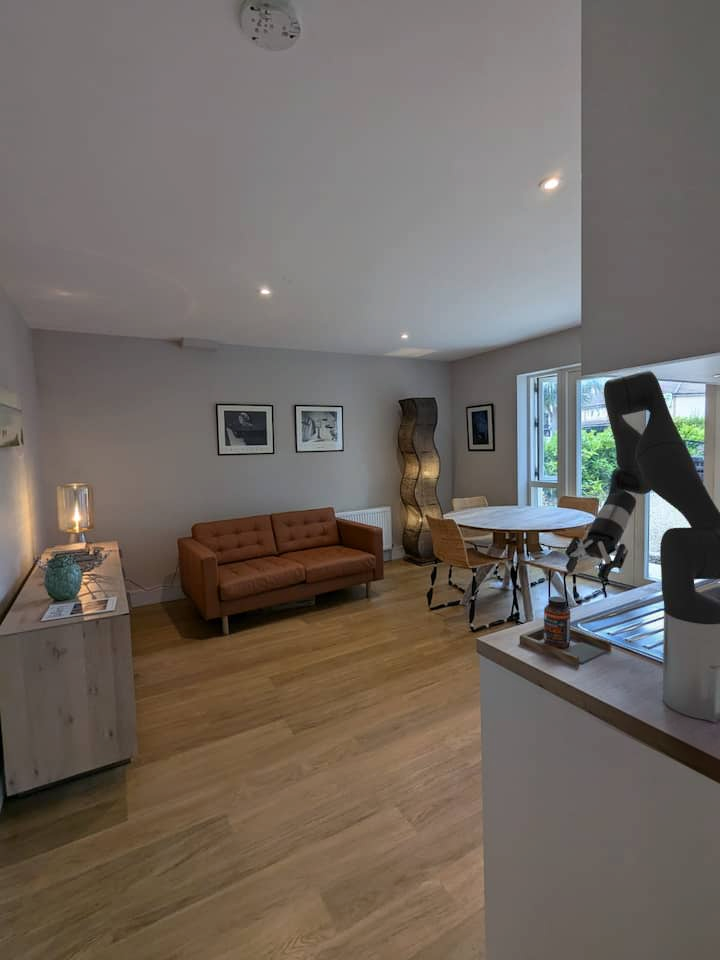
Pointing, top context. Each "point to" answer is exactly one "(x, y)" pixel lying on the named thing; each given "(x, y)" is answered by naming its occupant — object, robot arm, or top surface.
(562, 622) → the supplement bottle
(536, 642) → the frame
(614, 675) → the top surface
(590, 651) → the front pad
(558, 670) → the top surface
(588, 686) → the top surface
